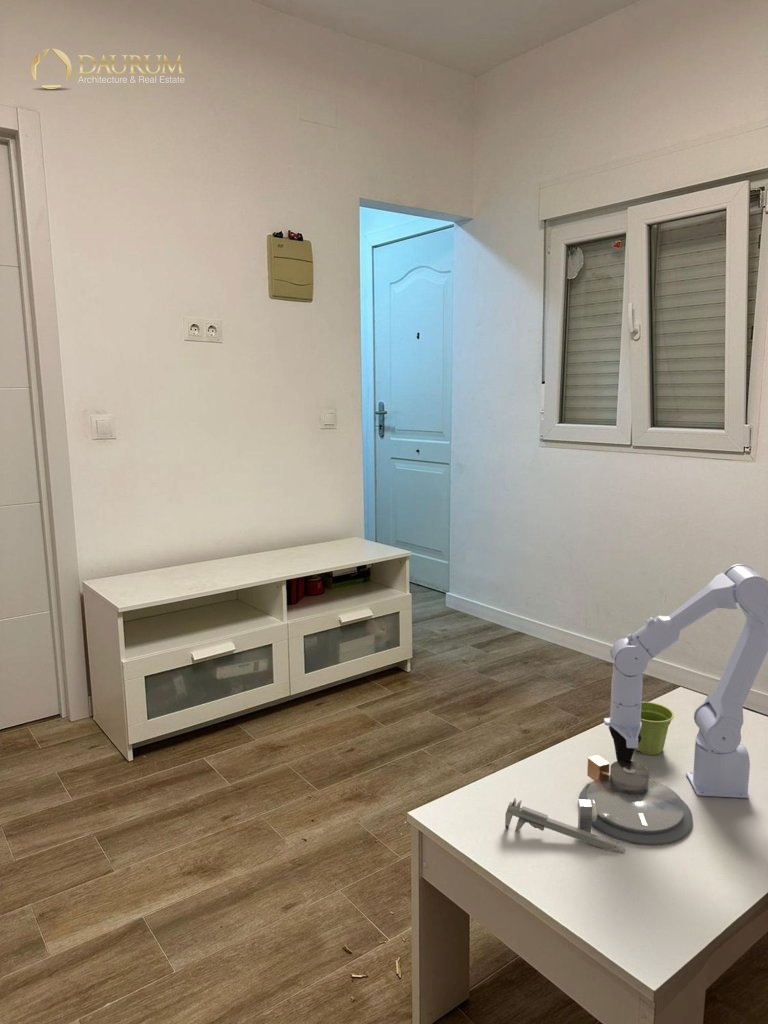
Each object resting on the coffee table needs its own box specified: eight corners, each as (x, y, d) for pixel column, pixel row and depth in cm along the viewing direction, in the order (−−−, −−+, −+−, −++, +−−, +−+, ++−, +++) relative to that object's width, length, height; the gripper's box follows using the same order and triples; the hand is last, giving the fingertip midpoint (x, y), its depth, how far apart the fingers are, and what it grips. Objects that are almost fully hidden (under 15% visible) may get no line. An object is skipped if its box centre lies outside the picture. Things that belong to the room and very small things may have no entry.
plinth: (675, 784, 143) (675, 780, 143) (707, 848, 124) (707, 844, 124) (571, 779, 146) (571, 775, 146) (586, 841, 126) (587, 837, 126)
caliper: (504, 831, 130) (505, 799, 129) (506, 827, 131) (506, 795, 130) (624, 855, 123) (626, 821, 122) (624, 851, 124) (626, 818, 123)
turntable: (666, 776, 144) (667, 758, 144) (695, 836, 125) (697, 816, 125) (578, 771, 146) (579, 754, 146) (594, 831, 127) (595, 811, 127)
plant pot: (664, 738, 162) (666, 702, 160) (677, 760, 152) (679, 722, 151) (621, 737, 162) (622, 700, 161) (631, 759, 153) (633, 720, 152)
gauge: (593, 825, 131) (594, 795, 130) (596, 837, 127) (597, 806, 126) (577, 824, 131) (578, 794, 130) (580, 837, 128) (581, 806, 127)
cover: (643, 775, 142) (644, 760, 142) (652, 795, 136) (653, 779, 135) (606, 773, 143) (607, 758, 143) (613, 793, 136) (614, 778, 136)
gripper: (599, 683, 150) (596, 744, 152) (611, 716, 136) (609, 782, 138) (634, 685, 149) (631, 746, 151) (651, 717, 135) (647, 784, 137)
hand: (623, 763), depth 145 cm, fingers closed
